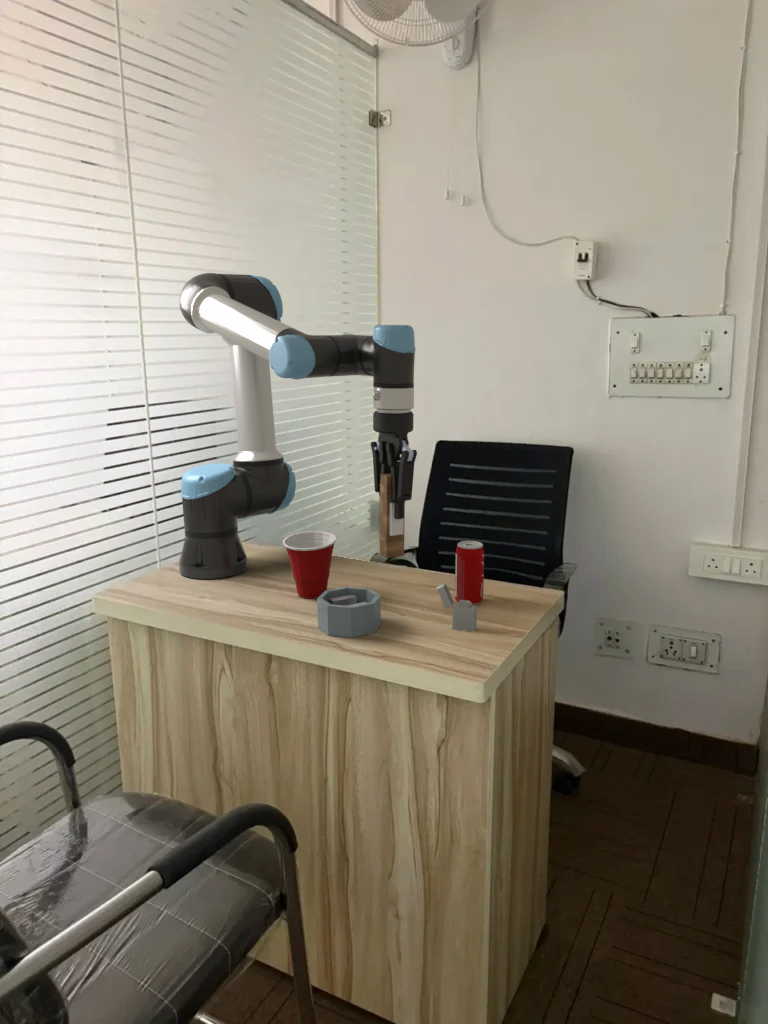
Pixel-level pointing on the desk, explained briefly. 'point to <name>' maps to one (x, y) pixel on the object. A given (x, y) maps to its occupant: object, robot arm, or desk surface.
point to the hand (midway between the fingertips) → (392, 532)
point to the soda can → (469, 572)
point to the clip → (345, 600)
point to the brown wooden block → (388, 544)
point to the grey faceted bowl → (349, 613)
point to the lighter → (459, 610)
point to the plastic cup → (310, 561)
